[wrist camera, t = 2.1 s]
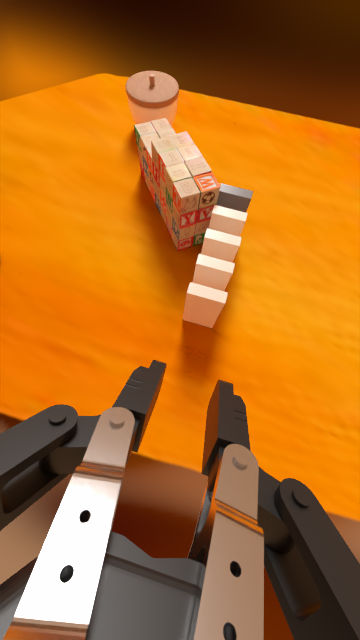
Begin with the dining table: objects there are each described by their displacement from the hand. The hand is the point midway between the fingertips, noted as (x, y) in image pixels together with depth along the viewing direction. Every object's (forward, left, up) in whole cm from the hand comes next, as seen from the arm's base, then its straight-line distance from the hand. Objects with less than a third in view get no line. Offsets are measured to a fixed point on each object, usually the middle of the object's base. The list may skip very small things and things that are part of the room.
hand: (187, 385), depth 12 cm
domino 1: (0, +31, -24) cm, 39 cm away
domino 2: (0, +26, -24) cm, 36 cm away
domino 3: (0, +22, -24) cm, 33 cm away
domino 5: (0, +13, -24) cm, 27 cm away
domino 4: (0, +17, -24) cm, 30 cm away
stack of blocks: (-11, +35, -24) cm, 44 cm away
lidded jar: (-22, +56, -24) cm, 65 cm away
